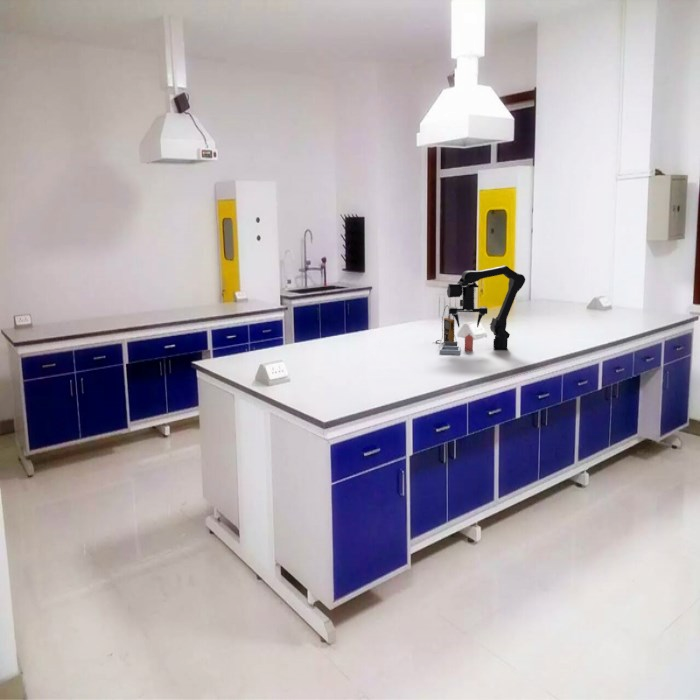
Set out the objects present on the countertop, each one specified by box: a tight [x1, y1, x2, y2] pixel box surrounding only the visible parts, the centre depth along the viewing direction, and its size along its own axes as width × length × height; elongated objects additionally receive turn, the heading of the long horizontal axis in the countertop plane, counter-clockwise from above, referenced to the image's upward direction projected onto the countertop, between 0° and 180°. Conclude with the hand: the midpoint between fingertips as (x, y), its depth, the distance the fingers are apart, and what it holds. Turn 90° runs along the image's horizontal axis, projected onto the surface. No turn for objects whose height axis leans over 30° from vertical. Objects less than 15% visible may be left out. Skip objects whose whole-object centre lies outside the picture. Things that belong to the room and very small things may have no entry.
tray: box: [439, 345, 462, 356], centre depth 317 cm, size 10×10×2 cm
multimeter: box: [432, 304, 457, 345], centre depth 335 cm, size 15×10×20 cm
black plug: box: [442, 341, 458, 346], centre depth 326 cm, size 7×4×4 cm, turn 78°
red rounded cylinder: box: [464, 332, 474, 352], centre depth 319 cm, size 4×4×9 cm
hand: (468, 327), depth 318 cm, fingers open, 9 cm apart
